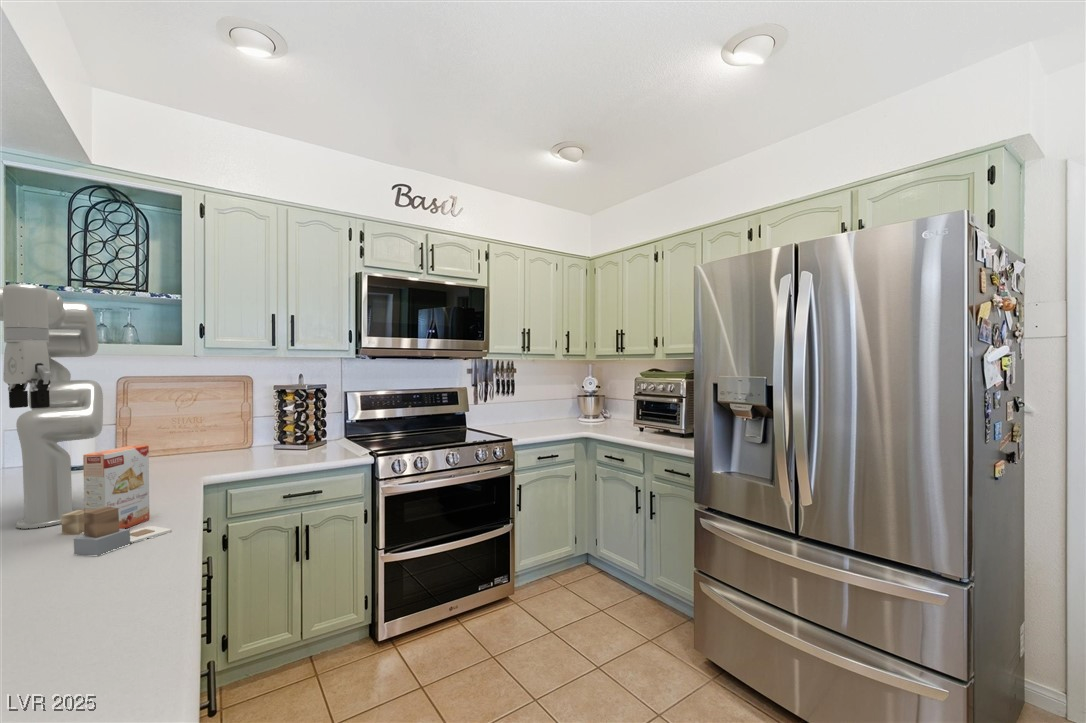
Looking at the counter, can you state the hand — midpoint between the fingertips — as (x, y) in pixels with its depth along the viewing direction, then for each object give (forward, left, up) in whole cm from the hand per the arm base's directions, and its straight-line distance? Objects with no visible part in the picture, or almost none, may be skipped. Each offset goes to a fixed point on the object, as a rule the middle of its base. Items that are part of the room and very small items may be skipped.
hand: (29, 407), depth 120 cm
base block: (+20, +4, -34) cm, 39 cm away
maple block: (-3, +10, -33) cm, 35 cm away
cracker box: (+5, +15, -34) cm, 37 cm away
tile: (+18, +13, -33) cm, 40 cm away
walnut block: (+20, +4, -30) cm, 36 cm away
